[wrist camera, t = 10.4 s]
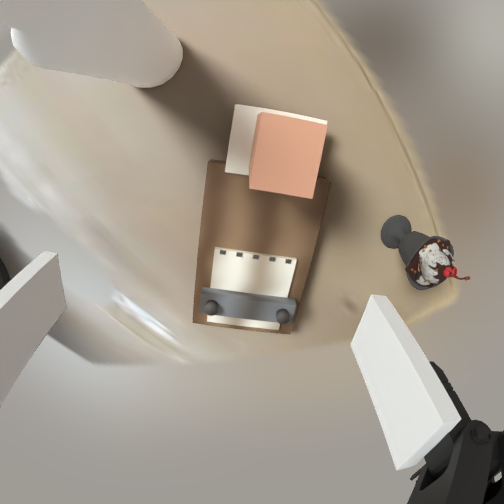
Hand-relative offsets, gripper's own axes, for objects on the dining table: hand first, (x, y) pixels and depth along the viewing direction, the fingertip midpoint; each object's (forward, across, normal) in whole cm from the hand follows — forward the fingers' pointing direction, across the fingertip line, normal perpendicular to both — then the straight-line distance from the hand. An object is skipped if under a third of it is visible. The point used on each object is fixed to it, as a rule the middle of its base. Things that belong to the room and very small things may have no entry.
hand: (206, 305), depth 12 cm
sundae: (+26, -23, +3) cm, 35 cm away
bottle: (+27, +12, -14) cm, 32 cm away
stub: (+24, -4, -5) cm, 25 cm away
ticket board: (+26, -4, +9) cm, 28 cm away
